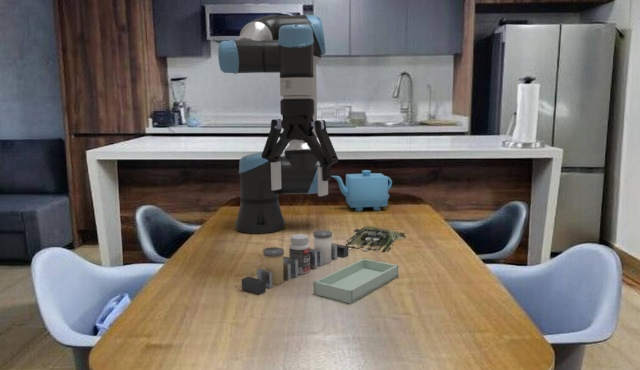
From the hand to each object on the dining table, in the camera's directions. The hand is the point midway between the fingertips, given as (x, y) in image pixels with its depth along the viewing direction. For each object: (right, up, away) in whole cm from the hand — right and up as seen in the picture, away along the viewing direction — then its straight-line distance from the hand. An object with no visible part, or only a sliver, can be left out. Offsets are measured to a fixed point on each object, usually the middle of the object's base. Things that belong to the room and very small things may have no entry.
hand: (299, 192), depth 122 cm
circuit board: (+20, -15, +29) cm, 38 cm away
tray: (+13, -20, -6) cm, 25 cm away
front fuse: (-5, -20, -4) cm, 21 cm away
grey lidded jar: (+5, -17, +10) cm, 21 cm away
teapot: (+20, -7, +70) cm, 73 cm away
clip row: (0, -18, +3) cm, 19 cm away
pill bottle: (0, -19, +3) cm, 19 cm away
